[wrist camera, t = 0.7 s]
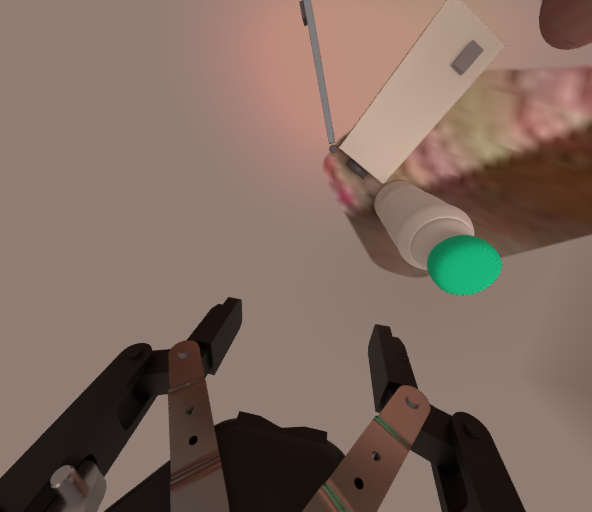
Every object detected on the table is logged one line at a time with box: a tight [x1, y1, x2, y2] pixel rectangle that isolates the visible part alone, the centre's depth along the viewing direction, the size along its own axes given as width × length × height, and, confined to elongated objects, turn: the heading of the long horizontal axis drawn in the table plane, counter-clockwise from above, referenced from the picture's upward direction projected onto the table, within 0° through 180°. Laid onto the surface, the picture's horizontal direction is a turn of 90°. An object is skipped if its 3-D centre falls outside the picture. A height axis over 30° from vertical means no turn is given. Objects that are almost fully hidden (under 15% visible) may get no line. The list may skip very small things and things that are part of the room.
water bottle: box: [374, 181, 502, 295], centre depth 29 cm, size 7×7×25 cm
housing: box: [339, 0, 506, 184], centre depth 31 cm, size 19×8×7 cm, turn 144°
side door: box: [300, 0, 337, 153], centre depth 32 cm, size 18×2×6 cm, turn 14°
